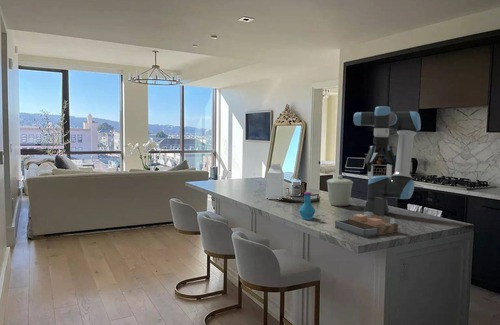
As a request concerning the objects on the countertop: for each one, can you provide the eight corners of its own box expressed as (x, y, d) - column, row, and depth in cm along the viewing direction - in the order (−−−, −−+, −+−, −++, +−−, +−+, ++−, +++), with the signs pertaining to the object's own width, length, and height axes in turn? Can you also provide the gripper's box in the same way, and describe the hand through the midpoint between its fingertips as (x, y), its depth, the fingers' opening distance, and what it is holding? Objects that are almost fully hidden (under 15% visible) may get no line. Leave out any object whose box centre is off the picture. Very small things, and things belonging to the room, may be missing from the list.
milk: (265, 199, 281) (265, 164, 279) (269, 196, 292) (269, 163, 290) (281, 200, 277) (281, 164, 275) (284, 197, 288) (285, 163, 286)
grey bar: (367, 216, 208) (368, 195, 207) (394, 224, 192) (395, 200, 192) (363, 217, 207) (364, 195, 206) (390, 224, 191) (391, 201, 190)
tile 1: (360, 218, 204) (360, 214, 203) (367, 220, 199) (367, 215, 199) (353, 219, 201) (353, 214, 201) (360, 221, 197) (360, 216, 197)
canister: (346, 208, 250) (347, 176, 248) (321, 205, 261) (322, 174, 259) (356, 204, 264) (357, 174, 263) (332, 201, 275) (333, 172, 274)
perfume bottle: (313, 216, 226) (314, 191, 224) (316, 219, 216) (317, 193, 215) (297, 216, 225) (298, 191, 224) (300, 219, 216) (301, 193, 215)
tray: (346, 226, 203) (346, 219, 203) (376, 235, 185) (377, 228, 185) (335, 227, 199) (335, 221, 199) (364, 237, 181) (365, 230, 181)
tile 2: (374, 222, 195) (374, 217, 195) (382, 224, 190) (382, 219, 190) (367, 223, 192) (367, 218, 192) (375, 225, 188) (375, 220, 188)
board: (368, 223, 210) (368, 216, 210) (397, 231, 193) (398, 224, 192) (347, 226, 203) (347, 218, 203) (376, 235, 185) (376, 227, 185)
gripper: (369, 136, 187) (367, 179, 189) (404, 137, 199) (402, 177, 200) (358, 136, 194) (356, 177, 195) (392, 136, 205) (390, 175, 207)
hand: (379, 177), depth 198 cm, fingers open, 13 cm apart
